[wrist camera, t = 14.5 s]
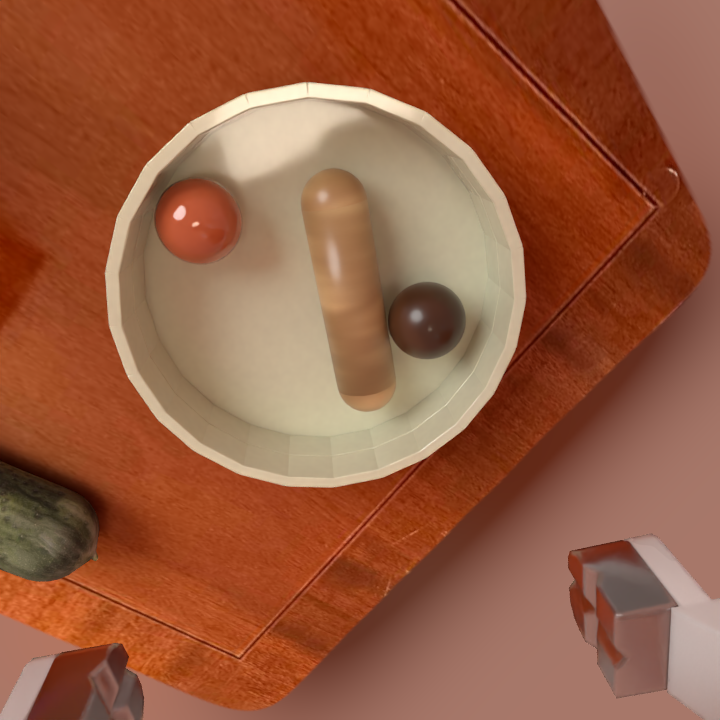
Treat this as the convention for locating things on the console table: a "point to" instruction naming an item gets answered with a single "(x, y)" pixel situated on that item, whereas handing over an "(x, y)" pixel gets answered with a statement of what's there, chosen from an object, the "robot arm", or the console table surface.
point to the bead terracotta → (198, 220)
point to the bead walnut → (426, 320)
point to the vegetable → (43, 527)
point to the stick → (349, 287)
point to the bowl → (313, 287)
